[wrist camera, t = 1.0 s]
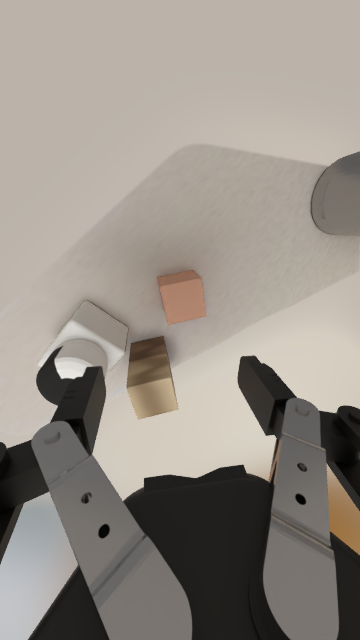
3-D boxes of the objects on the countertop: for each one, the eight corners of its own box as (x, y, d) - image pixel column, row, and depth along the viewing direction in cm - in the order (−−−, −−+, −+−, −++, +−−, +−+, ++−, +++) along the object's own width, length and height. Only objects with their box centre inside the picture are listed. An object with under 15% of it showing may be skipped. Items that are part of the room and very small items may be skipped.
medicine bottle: (101, 360, 34) (81, 426, 23) (57, 336, 31) (10, 396, 20) (129, 327, 32) (122, 380, 21) (85, 298, 29) (52, 342, 19)
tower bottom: (163, 335, 33) (166, 353, 29) (169, 362, 36) (173, 382, 31) (130, 343, 33) (129, 362, 29) (139, 369, 35) (138, 390, 31)
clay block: (192, 269, 30) (201, 278, 26) (197, 303, 32) (206, 316, 28) (157, 277, 30) (159, 286, 25) (164, 310, 32) (167, 324, 27)
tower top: (166, 353, 29) (170, 377, 24) (173, 382, 31) (178, 409, 26) (129, 362, 29) (126, 388, 24) (138, 390, 31) (137, 419, 26)
